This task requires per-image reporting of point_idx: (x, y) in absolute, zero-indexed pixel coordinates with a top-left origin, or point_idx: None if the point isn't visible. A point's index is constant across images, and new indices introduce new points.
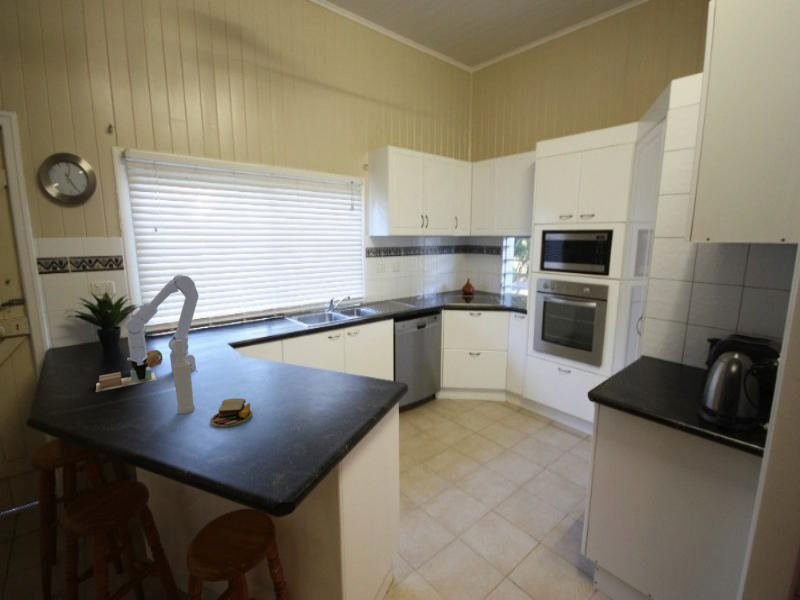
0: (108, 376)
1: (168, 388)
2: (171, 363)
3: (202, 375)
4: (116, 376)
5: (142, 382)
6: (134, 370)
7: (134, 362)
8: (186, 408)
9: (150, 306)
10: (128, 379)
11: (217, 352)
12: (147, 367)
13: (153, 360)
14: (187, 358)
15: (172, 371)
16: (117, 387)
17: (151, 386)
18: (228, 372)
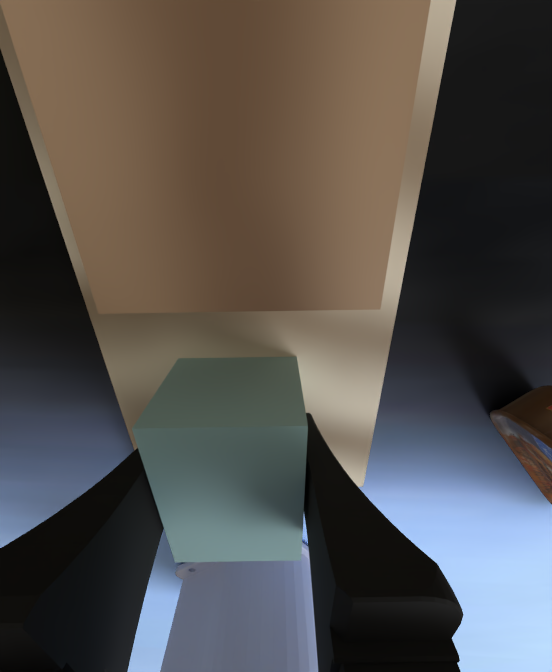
0: (219, 102)
1: None
2: (242, 656)
3: (151, 607)
4: (132, 251)
5: (129, 422)
6: (250, 463)
7: (330, 595)
8: None
9: None
10: (310, 335)
11: (508, 660)
12: (287, 547)
13: None
14: None
15: (247, 568)
16: (68, 237)
17: (67, 447)
18: (138, 653)
